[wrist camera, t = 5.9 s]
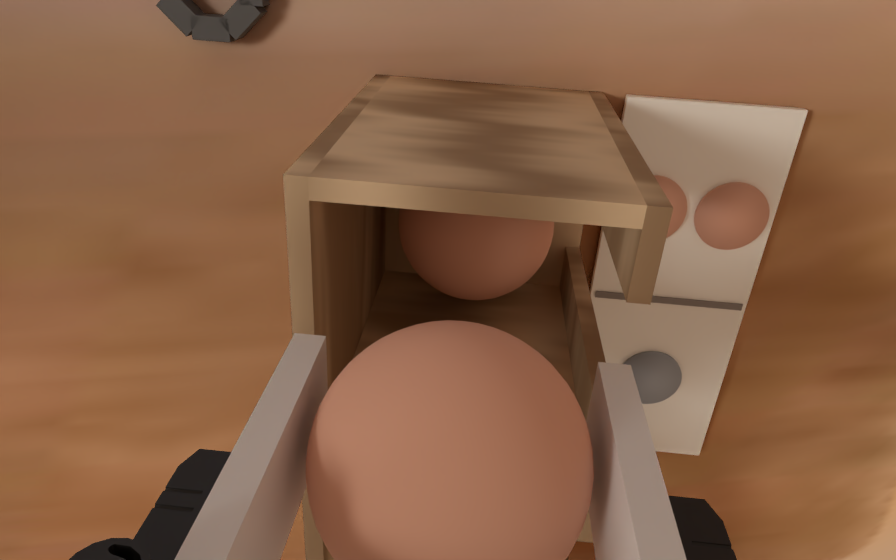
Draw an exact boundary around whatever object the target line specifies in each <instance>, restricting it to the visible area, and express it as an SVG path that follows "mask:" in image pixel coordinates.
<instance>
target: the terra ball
mask: <svg viewBox="0 0 896 560" xmlns="http://www.w3.org/2000/svg"><path fill="white" fill-rule="evenodd" d="M593 480H594V465H593V449H592V443H591V439H590V434H589V430H588V427H587V423H586V420H585V417H584V415H583V412H582V410H581V407H580V405H579V403H578V401H577V399H576V397H575V395H574V394H573V392H572V390H571V389H570V387H569V385H568V384H567V382H566V381H565V380H564V379H563V377H562V376H561V375H560V374H559V373H558V371H557V370H556V369H555V368H554V366H553V365H552V364H551V363H550V362H549V361H548V360H547V359H546V358H545V357H543V356H542V355H541V354H540V353H539V352H538V351H536V350H535V349H533V348H532V347H530V346H529V345H528V344H526V343H525V342H523V341H522V340H520V339H518V338H516V337H514V336H512V335H511V334H509V333H507V332H504V331H501V330H499V329H496V328H494V327H490V326H487V325H483V324H479V323H473V322H467V321H452V320H444V321H431V322H426V323H421V324H416V325H413V326H410V327H407V328H404V329H401V330H398V331H396V332H393V333H391V334H389V335H387V336H385V337H383V338H381V339H379V340H378V341H376V342H375V343H373V344H371V345H370V346H368V347H367V348H366V349H365V350H363V351H362V352H361V353H360V354H358V355H357V356H356V357H355V358H354V359H353V360H352V361H350V362H349V364H348V365H347V366H346V367H345V368H344V369H343V371H342V372H341V373H340V374H339V375H338V377H337V378H336V379H335V380H334V381H333V383H332V385H331V386H330V388H329V389H328V391H327V393H326V394H325V396H324V398H323V400H322V402H321V404H320V406H319V408H318V411H317V413H316V416H315V418H314V421H313V425H312V428H311V432H310V436H309V441H308V446H307V455H306V485H307V493H308V500H309V504H310V508H311V512H312V515H313V518H314V521H315V525H316V528H317V530H318V532H319V534H320V536H321V538H322V540H323V542H324V544H325V546H326V548H327V550H328V551H329V553H330V554H331V556H332V557H333V559H334V560H565V559H566V558H567V557H568V555H569V554H570V552H571V550H572V548H573V547H574V545H575V543H576V541H577V539H578V537H579V535H580V533H581V531H582V529H583V526H584V523H585V519H586V516H587V513H588V510H589V507H590V504H591V496H592V488H593Z"/></svg>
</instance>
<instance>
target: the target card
mask: <svg viewBox="0 0 896 560" xmlns="http://www.w3.org/2000/svg"><path fill="white" fill-rule="evenodd" d="M807 113H808V110H806V109H805V108H796V107H783V106H770V105H758V104H745V103H732V102H719V101H707V100H694V99H681V98H668V97H656V96H643V95H630V94H626V97H625V103H624V108H623V113H622V119H621V122H622V124H623V126H624V127H625V129H626V130H627V132H628V134H629V135H630V137H631V139H632V140H633V142H634V144H635V145H636V147H637V149H638V150H639V152H640V154H641V155H642V157H643V159H644V160H645V162H646V164H647V165H648V167H649V168H650V170H651V172H652V173H653V175H654V177H655V178H656V180H657V182H658V183H659V185H660V187H661V188H662V190H663V192H664V193H665V195H666V197H667V198H668V200H669V202H670V203H671V205H672V206H673V212H672V216H671V220H670V224H669V228H668V233H667V237H666V241H665V245H664V250H663V254H662V258H661V262H660V266H659V271H658V275H657V279H656V283H655V288H654V292H653V296H652V300H651V304H650V305H649V304H638V303H627V302H626V300H625V297H624V294H623V291H622V287H621V284H620V281H619V278H618V275H617V272H616V269H615V266H614V263H613V260H612V256H611V253H610V250H609V247H608V244H607V241H606V238H605V235H604V232H603V229H602V227H601V232H600V238H599V243H598V249H597V254H596V260H595V265H594V270H593V276H592V281H591V287H590V295H591V300H592V304H593V309H594V313H595V317H596V322H597V326H598V330H599V335H600V339H601V343H602V348H603V352H604V356H605V361H606V363H615V364H626V365H631V368H632V371H633V375H634V378H635V382H636V385H637V388H638V392H639V395H640V399H641V402H642V406H643V409H644V413H645V416H646V420H647V423H648V427H649V430H650V434H651V437H652V441H653V444H654V448H655V451H659V452H669V453H679V454H689V455H699V454H700V451H701V448H702V445H703V442H704V438H705V435H706V432H707V429H708V426H709V423H710V419H711V416H712V413H713V410H714V407H715V404H716V400H717V397H718V394H719V391H720V388H721V385H722V381H723V378H724V375H725V372H726V369H727V366H728V362H729V359H730V356H731V353H732V350H733V347H734V343H735V340H736V337H737V334H738V331H739V328H740V325H741V321H742V318H743V315H744V312H745V309H746V306H747V302H748V299H749V296H750V293H751V290H752V287H753V283H754V280H755V277H756V274H757V271H758V268H759V264H760V261H761V258H762V255H763V252H764V249H765V245H766V242H767V239H768V236H769V233H770V230H771V226H772V223H773V220H774V217H775V214H776V211H777V207H778V204H779V201H780V198H781V195H782V192H783V188H784V185H785V182H786V179H787V176H788V173H789V169H790V166H791V163H792V160H793V157H794V154H795V151H796V147H797V144H798V141H799V138H800V135H801V132H802V128H803V125H804V122H805V119H806V116H807Z"/></svg>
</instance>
